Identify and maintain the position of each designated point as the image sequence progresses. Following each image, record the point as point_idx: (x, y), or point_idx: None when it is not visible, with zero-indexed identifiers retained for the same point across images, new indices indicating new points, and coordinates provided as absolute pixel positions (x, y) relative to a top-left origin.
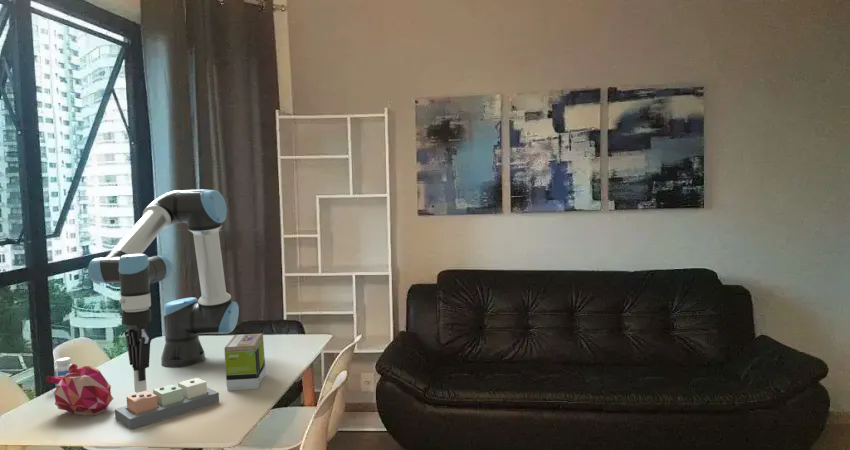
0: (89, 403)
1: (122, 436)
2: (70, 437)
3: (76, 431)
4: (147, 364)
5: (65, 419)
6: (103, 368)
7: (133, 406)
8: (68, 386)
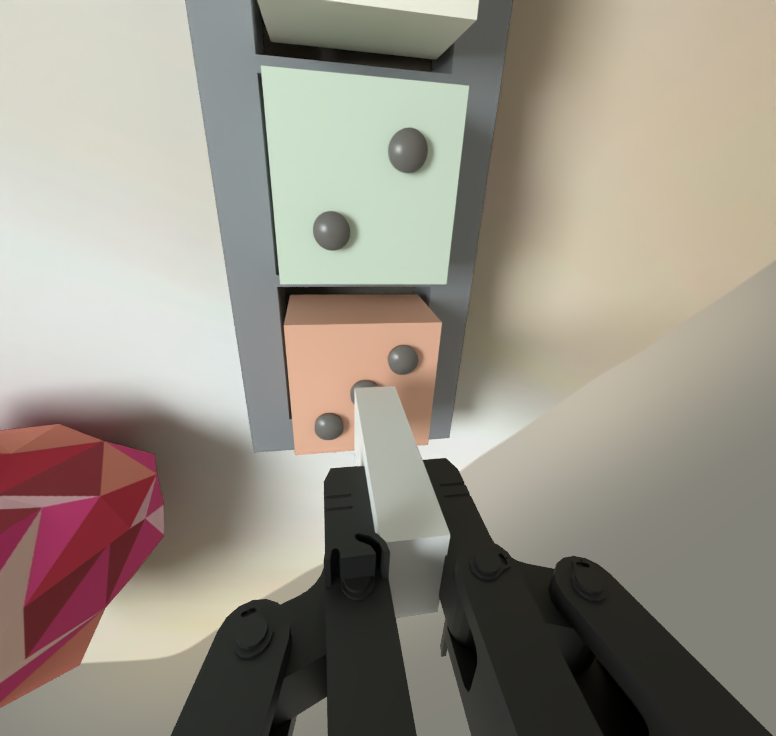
0: (142, 547)
1: (467, 444)
2: None
3: (285, 534)
4: (628, 616)
5: None
6: None
7: None
8: None
